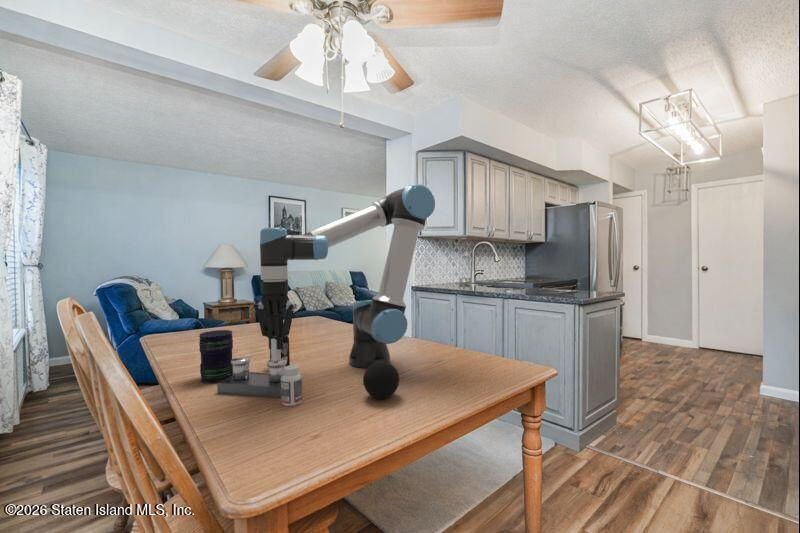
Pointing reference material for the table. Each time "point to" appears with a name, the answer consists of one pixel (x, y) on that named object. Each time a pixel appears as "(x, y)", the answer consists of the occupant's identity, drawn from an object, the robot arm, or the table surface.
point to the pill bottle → (291, 386)
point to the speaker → (381, 379)
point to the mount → (251, 386)
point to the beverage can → (284, 350)
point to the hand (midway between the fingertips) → (276, 359)
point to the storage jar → (216, 356)
